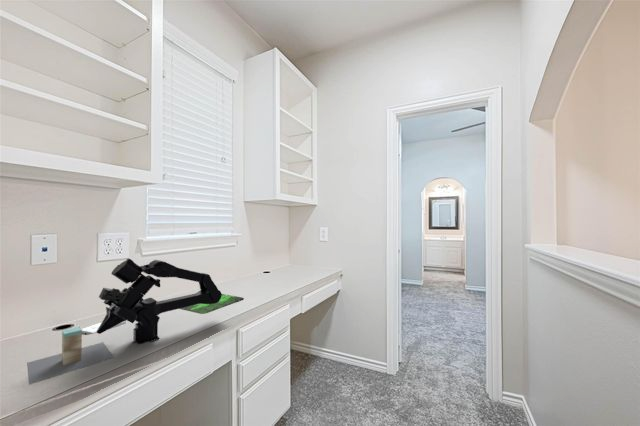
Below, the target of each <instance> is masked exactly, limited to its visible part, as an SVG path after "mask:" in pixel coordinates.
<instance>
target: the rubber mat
mask: <svg viewBox="0 0 640 426" xmlns="http://www.w3.org/2000/svg"><path fill="white" fill-rule="evenodd" d="M112 359H115V356H114V355H113V354H112V352H111V351H110V350H109V348H108V347H107V345H106V344H105V343H104V342H99V343H95V344H92V345H87V346H84V347H82V351H81V360H79V361H76V362H72V363H69V364H66V365H63V362H62V352H61V353H57V354H55V355H51V356H48V357H47V356H46V357H44V358H39V359H36V360H32V361H28V362H27V373H28V383H29V385H32V384H35V383H39V382H41V381H45V380H49V379H51V378H55V377H57V376H62V375H64V374H67V373H70V372H73V371H74V372H75V371H77V370H80V369H83V368H86V367H89V366H93V365H96V364H99V363H102V362H105V361H108V360H112Z"/></svg>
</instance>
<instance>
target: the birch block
mask: <svg viewBox="0 0 640 426" xmlns="http://www.w3.org/2000/svg"><path fill="white" fill-rule="evenodd" d="M81 329H82V328H81V326H77V327H72V328H68V329H64V330H62V331H61V333H62V334H61V335H62V336H61V353H62V362H63V365H66V364H69V363H72V362H76V361H79V360H81V351H82V348H83V347H82V344H83V343H82V341H83V340H82V338H83V336H82V335H83V333H82V330H81Z"/></svg>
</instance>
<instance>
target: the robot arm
mask: <svg viewBox="0 0 640 426" xmlns="http://www.w3.org/2000/svg"><path fill="white" fill-rule="evenodd" d="M143 273H144V274H146V275H144V274H143ZM111 276H114V277H115V278H116V279H118V280H119V281H122V282H123V283H125V285H126V284H129V283H130V284H131V285H130V286H129V287H128V288H127V287H125V288H123V289H122V290H120V289H118V288H115V287H114V288H113V287H112V288H108V287H102V290H101V292H100V294H99V295H98V298H99V299H100V300H102V301H103V303H104V305H106V306H105V311H106V314H105V317H104V318H103V320H102V321H101V322H102V323H101V322H100V323H101V325H100V327H99V328H98V330H97V334H98V335H102V333H104V332H107V331H108V330H110V328H111V329H113V328H112V327H114V326H115V325H117V324H119V323H121V322H123V321H126V322H129V323H131V324H134V325H135V326H134V327H135V328H133V331H132V332H133V335H132V336H133V337H132V338H133V341H134V342H135V343H136V344H137V345H141V344H145V343H148V342H149V343H150V342H154V341H157V340H160V336H158V332H159V331H158V330H159V329H158V328H159V327H158V326H159V325H158V323H159V321H160V316H159V315H160V314H162V313H166V312H171V311H175V310H181V309H180V308H184V307H188V306H192V305H196V304H215V303H218V302H219V300H220V299H221V296H222V294H223V293H222V292H221V290H219V289H218V286H217V285H216V284H215V282H214V281H213V279H212V277H211V275H210V274H208V273H205V272H199V271H193V270H188V269H185V268H182V267H177V266H175V265H173V264H171V263H169V262H166V261H164V260H163V261H162V260H159V259H154V260H152V261H150V262H149V263H148V264H143V265H138V264H137V263H135V262H134V260H132V259H131V258H126V259H125V260H124V261H123V262H121V263H119V264H118V265H117V266H115V267H114V269H112V272H111ZM153 276H154V277H156V278H154V277H153ZM159 278H166V279H167V278H178V279H182V280H187V281H192V282H197V283H198V285H199V289H200V290H198V291H197V292H196V293H191V294H187V295H183V296H177V297H172V298H169V299H164V300H158V301H157V300H156V299H154V298H153V297H148V298H146V299H144V297H145V296H146V295H147V293H149V291H150V290H151V289H152V288H153V287H154V286H155V287H157V288H161V279H159ZM107 306H109V307H107ZM134 322H136V323H134ZM114 328H115V327H114Z"/></svg>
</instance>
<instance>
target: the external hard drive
mask: <svg viewBox="0 0 640 426" xmlns="http://www.w3.org/2000/svg"><path fill="white" fill-rule="evenodd" d="M101 323H102V321H101V322H98V323H96V324H92V325H90V326H87V327H84V328H81V330H82V334H87V335H93V334H96V333H97V330H98V328H99V327H100V325H101ZM126 323H127V320H126V321H123V322H121V323H119V324H117V325H115V326H114V327H112V328H110V329H113V328H116V327H119V326H121V325H124V324H126ZM110 329H109V330H110ZM97 334H98V333H97Z"/></svg>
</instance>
